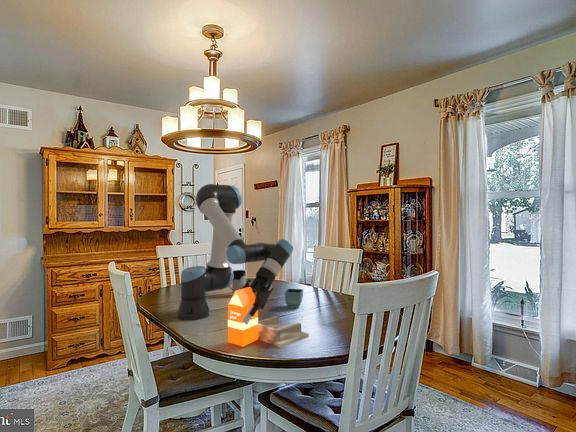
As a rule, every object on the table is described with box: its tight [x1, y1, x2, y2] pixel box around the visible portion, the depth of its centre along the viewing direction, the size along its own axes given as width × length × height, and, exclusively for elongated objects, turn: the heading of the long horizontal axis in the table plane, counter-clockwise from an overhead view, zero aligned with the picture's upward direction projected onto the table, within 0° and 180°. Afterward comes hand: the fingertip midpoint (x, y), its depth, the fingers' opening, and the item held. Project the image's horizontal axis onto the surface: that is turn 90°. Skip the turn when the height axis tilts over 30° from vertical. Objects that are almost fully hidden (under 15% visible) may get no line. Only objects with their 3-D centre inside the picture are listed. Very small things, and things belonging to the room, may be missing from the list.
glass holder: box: [228, 269, 247, 297], centre depth 213 cm, size 9×14×15 cm, turn 68°
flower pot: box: [284, 288, 304, 310], centre depth 185 cm, size 9×9×9 cm
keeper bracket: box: [258, 315, 310, 349], centre depth 142 cm, size 20×16×5 cm
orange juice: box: [227, 287, 259, 347], centre depth 133 cm, size 8×9×20 cm
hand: (236, 319), depth 131 cm, fingers closed on orange juice, 9 cm apart
